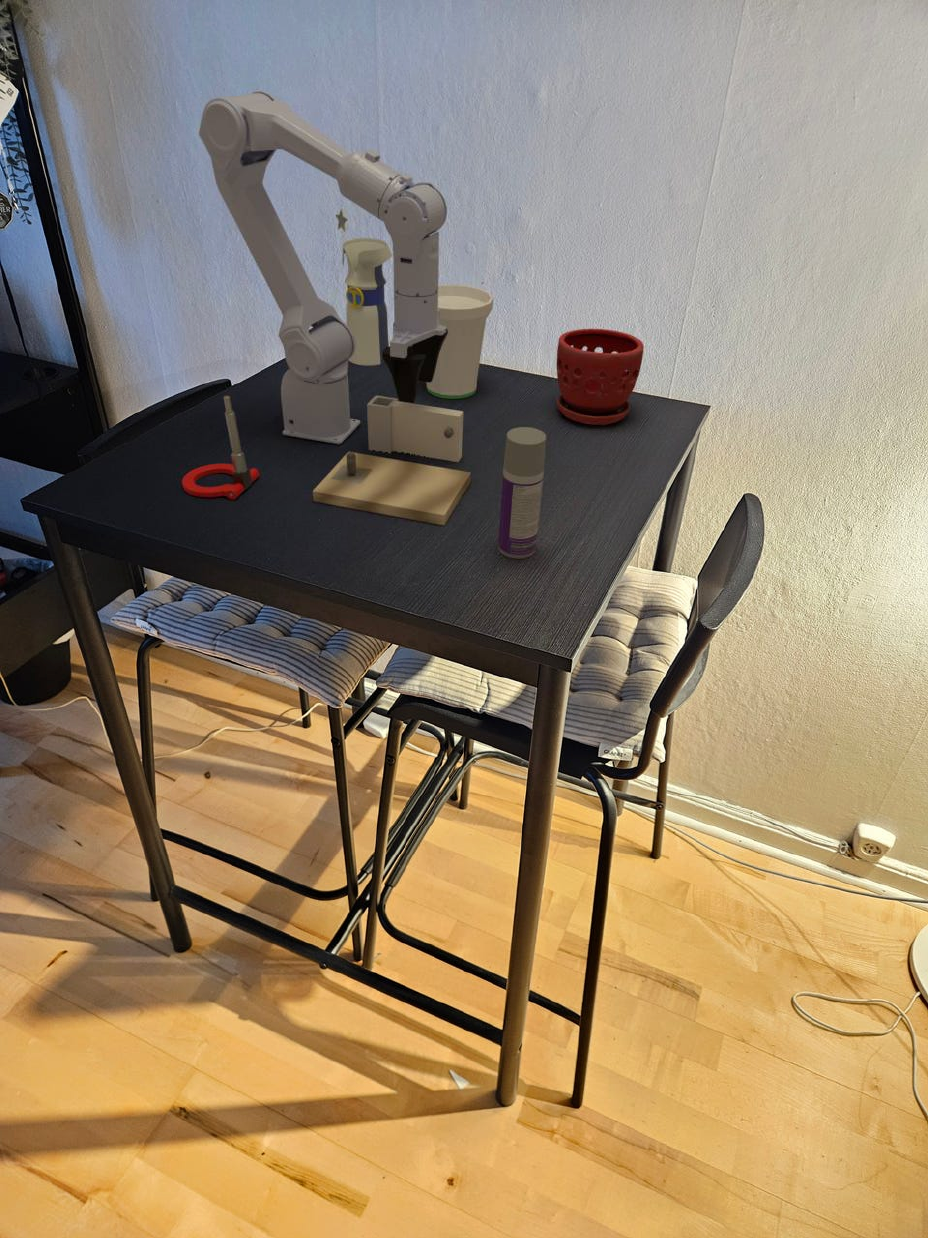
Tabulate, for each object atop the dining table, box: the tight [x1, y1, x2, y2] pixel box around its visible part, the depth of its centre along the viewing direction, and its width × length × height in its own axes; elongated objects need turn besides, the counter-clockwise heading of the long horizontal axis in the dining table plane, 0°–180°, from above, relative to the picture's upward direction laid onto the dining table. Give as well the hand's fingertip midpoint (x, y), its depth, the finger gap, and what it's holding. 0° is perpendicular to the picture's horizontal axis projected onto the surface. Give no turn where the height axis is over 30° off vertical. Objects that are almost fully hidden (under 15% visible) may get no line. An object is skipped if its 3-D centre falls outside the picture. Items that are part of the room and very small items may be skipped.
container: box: [497, 426, 547, 560], centre depth 98 cm, size 5×5×15 cm
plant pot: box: [556, 328, 645, 426], centre depth 131 cm, size 13×13×12 cm
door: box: [366, 395, 464, 463], centre depth 120 cm, size 13×3×7 cm, turn 74°
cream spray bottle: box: [335, 208, 393, 366], centre depth 143 cm, size 8×9×25 cm
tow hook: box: [181, 395, 260, 501], centre depth 109 cm, size 8×13×9 cm
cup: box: [426, 284, 494, 400], centre depth 136 cm, size 12×12×15 cm
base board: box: [312, 451, 472, 526], centre depth 111 cm, size 18×12×5 cm, turn 74°
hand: (416, 390), depth 116 cm, fingers open, 7 cm apart
